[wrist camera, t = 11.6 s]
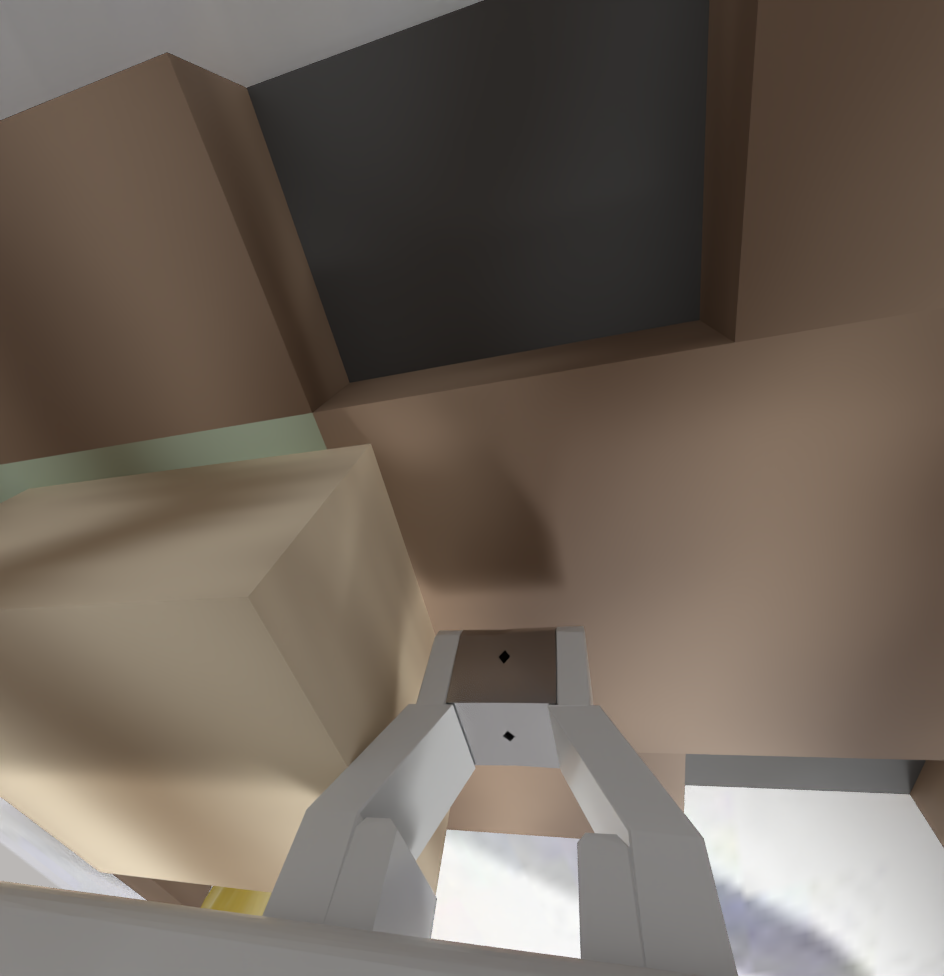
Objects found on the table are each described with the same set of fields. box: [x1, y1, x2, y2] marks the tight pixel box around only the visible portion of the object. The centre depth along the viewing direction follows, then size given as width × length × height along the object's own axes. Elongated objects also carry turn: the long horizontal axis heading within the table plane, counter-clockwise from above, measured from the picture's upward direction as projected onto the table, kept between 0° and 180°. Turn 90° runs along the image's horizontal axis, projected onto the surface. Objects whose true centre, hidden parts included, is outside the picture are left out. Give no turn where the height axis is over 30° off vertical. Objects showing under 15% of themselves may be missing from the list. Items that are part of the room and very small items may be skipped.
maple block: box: [0, 444, 450, 895], centre depth 10 cm, size 8×8×4 cm
